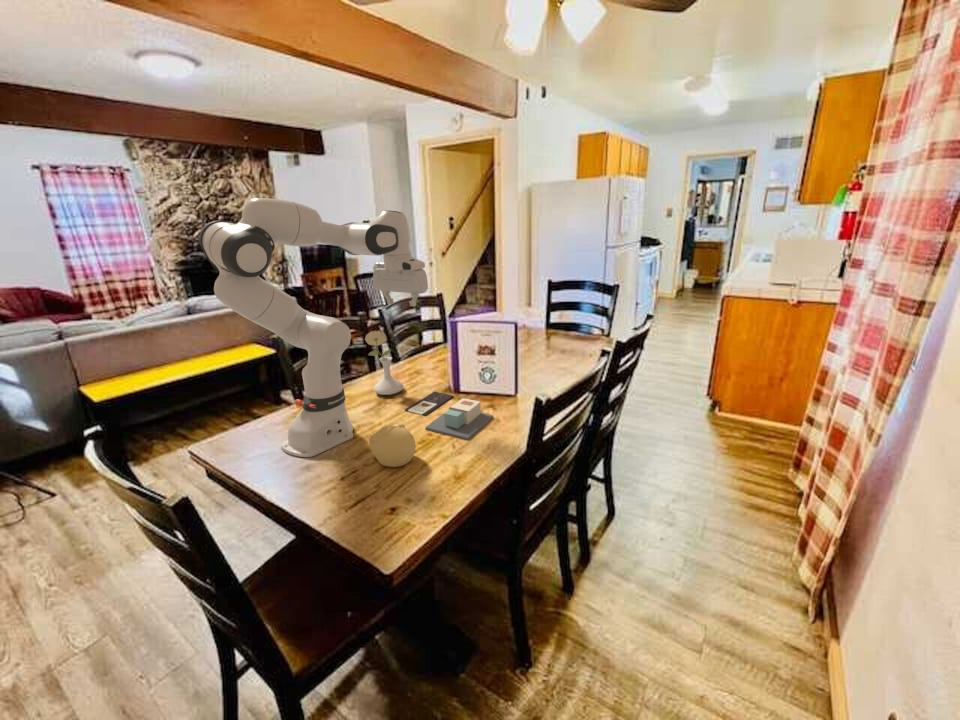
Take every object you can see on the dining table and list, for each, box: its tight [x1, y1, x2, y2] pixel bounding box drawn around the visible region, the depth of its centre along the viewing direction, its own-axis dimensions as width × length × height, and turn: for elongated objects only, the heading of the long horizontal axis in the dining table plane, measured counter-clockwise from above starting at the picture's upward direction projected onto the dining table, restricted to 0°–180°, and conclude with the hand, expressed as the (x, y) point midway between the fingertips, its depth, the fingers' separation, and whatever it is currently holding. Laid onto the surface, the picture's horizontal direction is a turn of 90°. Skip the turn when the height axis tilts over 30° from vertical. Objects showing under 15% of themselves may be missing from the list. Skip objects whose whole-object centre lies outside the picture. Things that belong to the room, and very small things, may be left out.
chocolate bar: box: [404, 391, 454, 417], centre depth 161 cm, size 9×1×18 cm
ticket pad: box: [425, 397, 494, 441], centre depth 144 cm, size 17×16×5 cm
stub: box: [443, 407, 464, 429], centre depth 141 cm, size 4×5×4 cm
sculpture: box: [368, 423, 417, 468], centre depth 123 cm, size 11×12×11 cm
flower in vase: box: [364, 330, 404, 396], centre depth 168 cm, size 13×11×25 cm
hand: (401, 305), depth 147 cm, fingers open, 8 cm apart
